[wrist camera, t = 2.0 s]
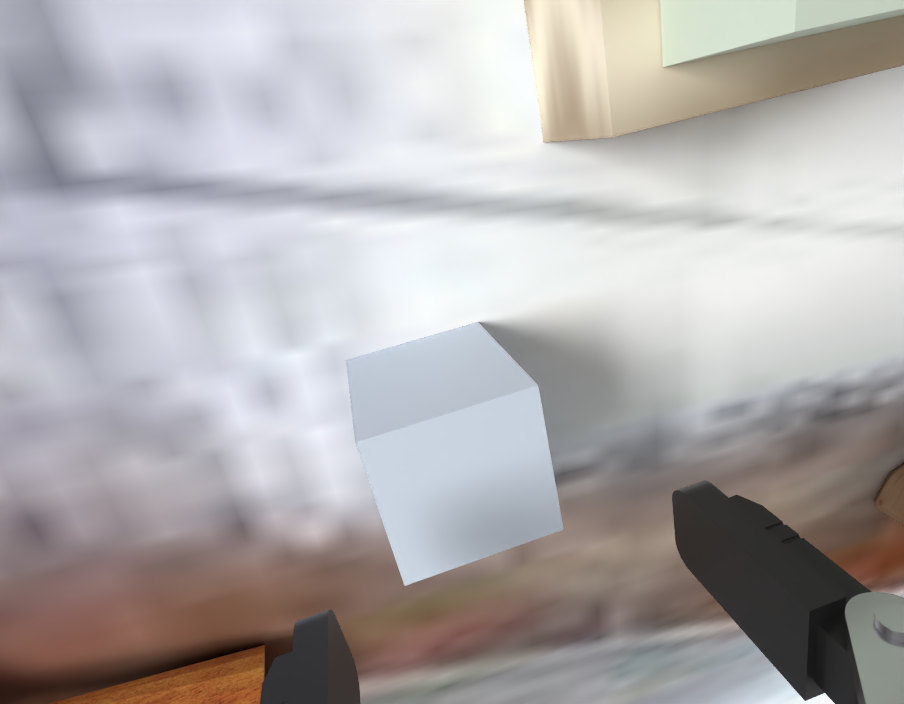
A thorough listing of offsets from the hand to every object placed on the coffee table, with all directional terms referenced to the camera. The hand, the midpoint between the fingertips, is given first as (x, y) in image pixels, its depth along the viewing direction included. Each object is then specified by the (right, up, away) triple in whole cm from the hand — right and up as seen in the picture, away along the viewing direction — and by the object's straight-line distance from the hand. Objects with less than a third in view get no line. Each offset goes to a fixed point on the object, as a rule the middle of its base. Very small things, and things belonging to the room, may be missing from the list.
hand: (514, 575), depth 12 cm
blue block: (-2, +3, +8) cm, 9 cm away
